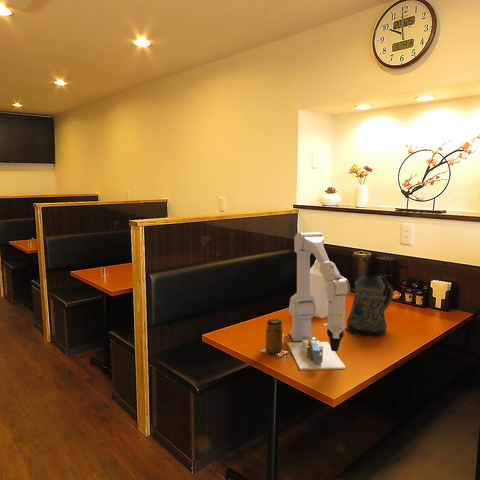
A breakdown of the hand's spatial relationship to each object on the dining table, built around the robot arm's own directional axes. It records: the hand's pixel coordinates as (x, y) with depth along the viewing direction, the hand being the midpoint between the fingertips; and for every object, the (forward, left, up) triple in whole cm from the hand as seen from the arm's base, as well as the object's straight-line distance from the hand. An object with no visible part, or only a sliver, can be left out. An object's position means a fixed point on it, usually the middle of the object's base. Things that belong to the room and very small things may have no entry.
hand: (334, 350), depth 144 cm
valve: (-7, -6, -5) cm, 11 cm away
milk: (-55, +10, -5) cm, 56 cm away
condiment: (-11, -19, -5) cm, 23 cm away
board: (-7, -5, -5) cm, 10 cm away
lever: (-2, -7, 0) cm, 7 cm away
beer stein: (-32, +25, -5) cm, 41 cm away
